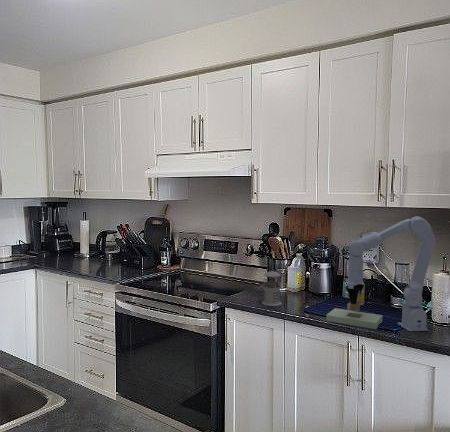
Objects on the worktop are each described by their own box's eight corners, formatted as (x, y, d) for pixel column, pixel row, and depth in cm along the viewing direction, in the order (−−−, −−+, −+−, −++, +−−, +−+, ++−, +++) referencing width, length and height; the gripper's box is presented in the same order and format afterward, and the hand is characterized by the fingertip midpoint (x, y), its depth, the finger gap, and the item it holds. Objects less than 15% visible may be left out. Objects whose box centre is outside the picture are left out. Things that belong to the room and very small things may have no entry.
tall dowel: (361, 310, 176) (361, 291, 176) (351, 310, 176) (352, 291, 175) (357, 308, 180) (357, 289, 180) (347, 308, 180) (348, 289, 179)
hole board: (382, 321, 178) (382, 315, 178) (375, 329, 168) (376, 323, 168) (334, 313, 189) (335, 308, 189) (326, 320, 178) (326, 314, 178)
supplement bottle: (346, 302, 207) (347, 276, 207) (358, 301, 210) (358, 275, 209) (355, 306, 201) (356, 279, 200) (367, 305, 203) (367, 278, 203)
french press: (258, 304, 204) (259, 251, 202) (267, 298, 214) (268, 248, 212) (277, 306, 199) (278, 253, 197) (286, 301, 209) (287, 250, 208)
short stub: (357, 314, 188) (358, 305, 188) (348, 314, 188) (349, 305, 187) (354, 311, 192) (354, 303, 192) (345, 312, 192) (345, 303, 191)
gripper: (350, 266, 185) (349, 297, 186) (340, 271, 173) (340, 305, 174) (367, 268, 182) (366, 299, 183) (358, 273, 169) (357, 307, 170)
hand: (354, 302), depth 178 cm, fingers closed on tall dowel, 4 cm apart
